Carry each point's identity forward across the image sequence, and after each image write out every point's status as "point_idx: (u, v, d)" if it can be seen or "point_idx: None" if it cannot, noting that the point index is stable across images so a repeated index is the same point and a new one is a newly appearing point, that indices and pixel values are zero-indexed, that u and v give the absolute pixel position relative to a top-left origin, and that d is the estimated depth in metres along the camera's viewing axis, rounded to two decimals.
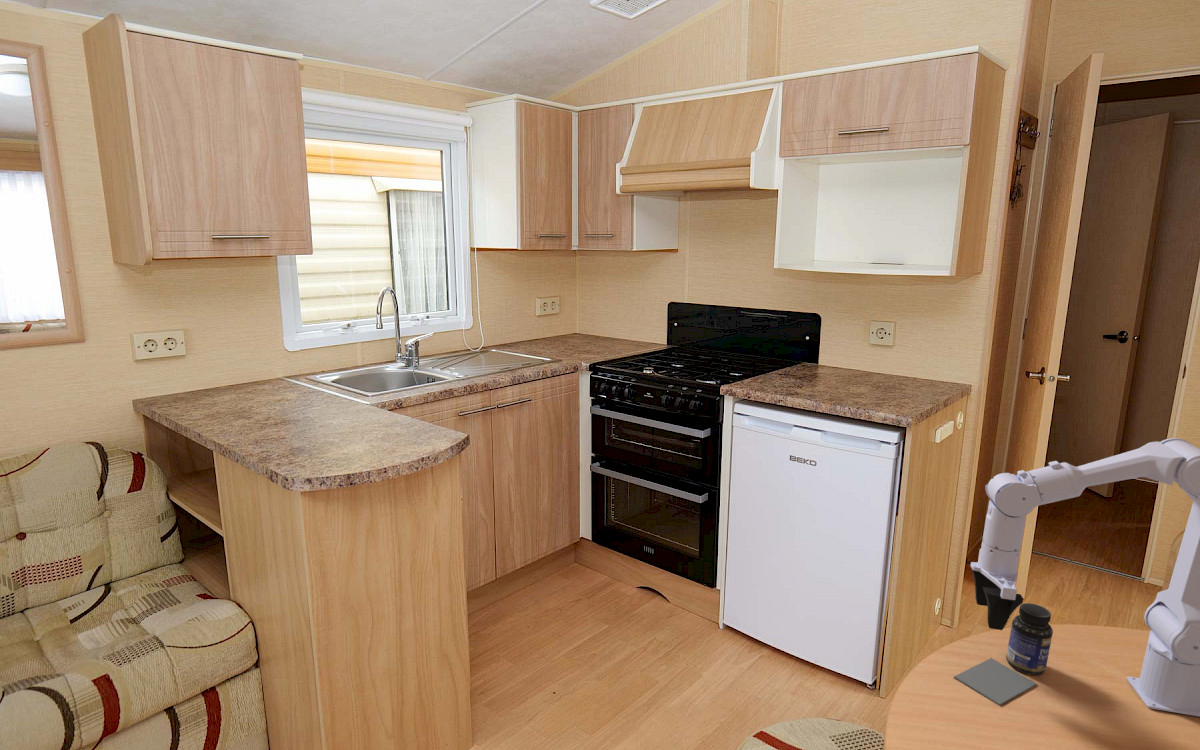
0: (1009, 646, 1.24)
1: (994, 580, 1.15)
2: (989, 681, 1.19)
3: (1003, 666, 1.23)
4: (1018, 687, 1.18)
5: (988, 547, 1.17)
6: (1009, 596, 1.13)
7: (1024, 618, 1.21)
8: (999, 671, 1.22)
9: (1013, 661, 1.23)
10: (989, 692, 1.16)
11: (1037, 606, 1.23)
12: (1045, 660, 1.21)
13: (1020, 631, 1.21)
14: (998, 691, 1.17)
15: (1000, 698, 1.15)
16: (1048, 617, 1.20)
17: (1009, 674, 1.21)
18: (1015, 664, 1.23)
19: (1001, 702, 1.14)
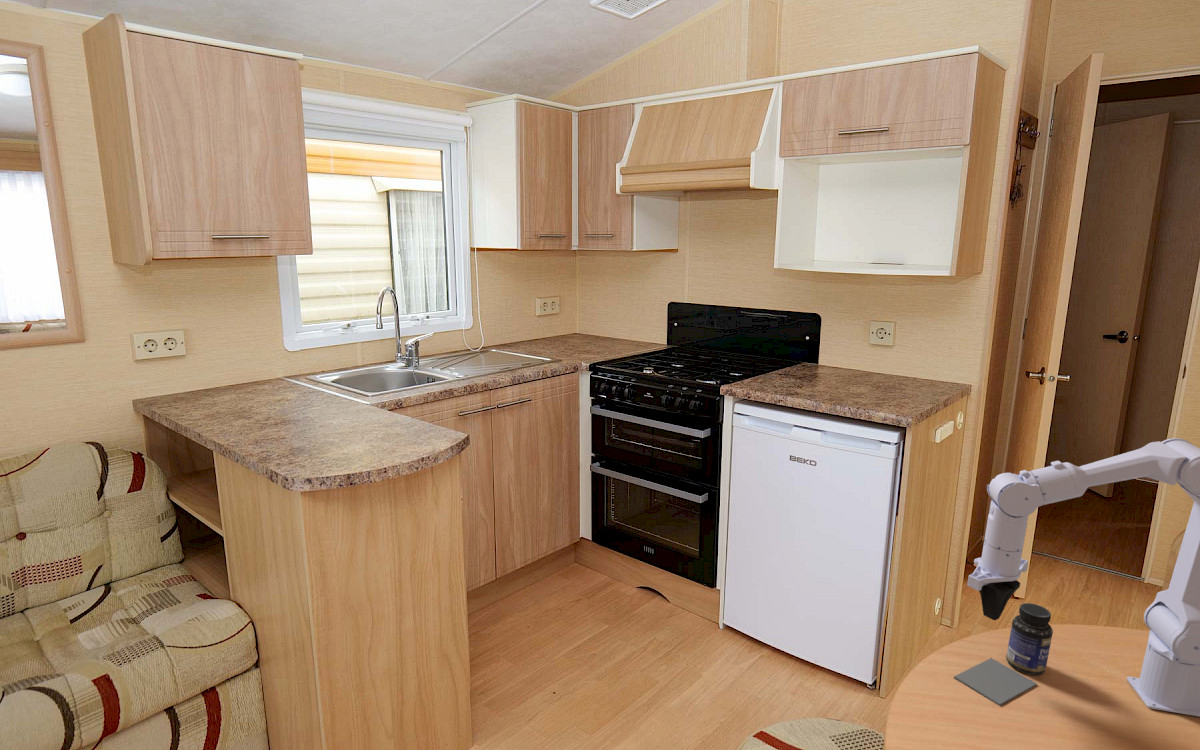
0: (1009, 646, 1.24)
1: (974, 571, 1.17)
2: (989, 681, 1.19)
3: (1003, 666, 1.23)
4: (1018, 687, 1.18)
5: (984, 541, 1.19)
6: (974, 586, 1.15)
7: (1024, 618, 1.21)
8: (999, 671, 1.22)
9: (1012, 661, 1.23)
10: (989, 692, 1.16)
11: (1037, 606, 1.23)
12: (1045, 660, 1.21)
13: (1020, 631, 1.21)
14: (998, 691, 1.17)
15: (1000, 698, 1.15)
16: (1048, 617, 1.20)
17: (1009, 674, 1.21)
18: (1015, 664, 1.23)
19: (1001, 702, 1.14)
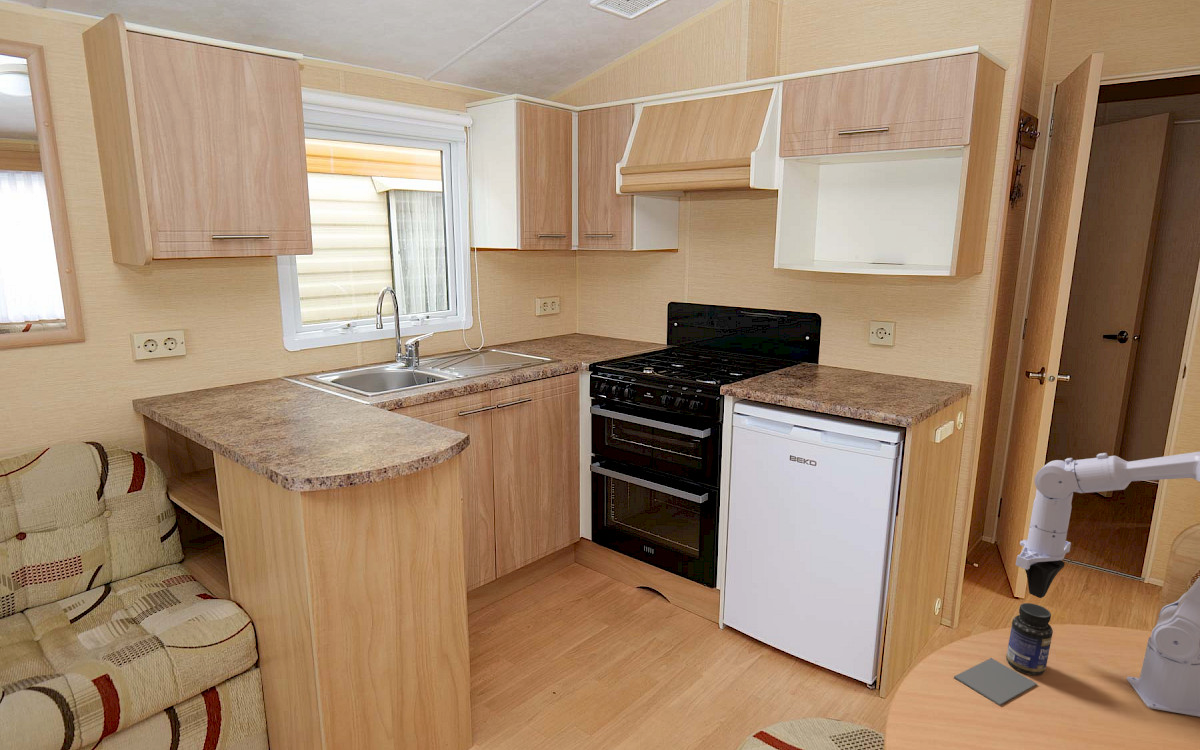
0: (1009, 646, 1.24)
1: (1021, 552, 1.25)
2: (989, 681, 1.19)
3: (1003, 666, 1.23)
4: (1018, 687, 1.18)
5: (1030, 524, 1.27)
6: (1022, 565, 1.23)
7: (1024, 618, 1.21)
8: (999, 671, 1.22)
9: (1012, 661, 1.23)
10: (989, 692, 1.16)
11: (1037, 606, 1.23)
12: (1045, 660, 1.21)
13: (1020, 631, 1.21)
14: (998, 691, 1.17)
15: (1000, 698, 1.15)
16: (1048, 617, 1.20)
17: (1009, 674, 1.21)
18: (1015, 664, 1.23)
19: (1001, 702, 1.14)
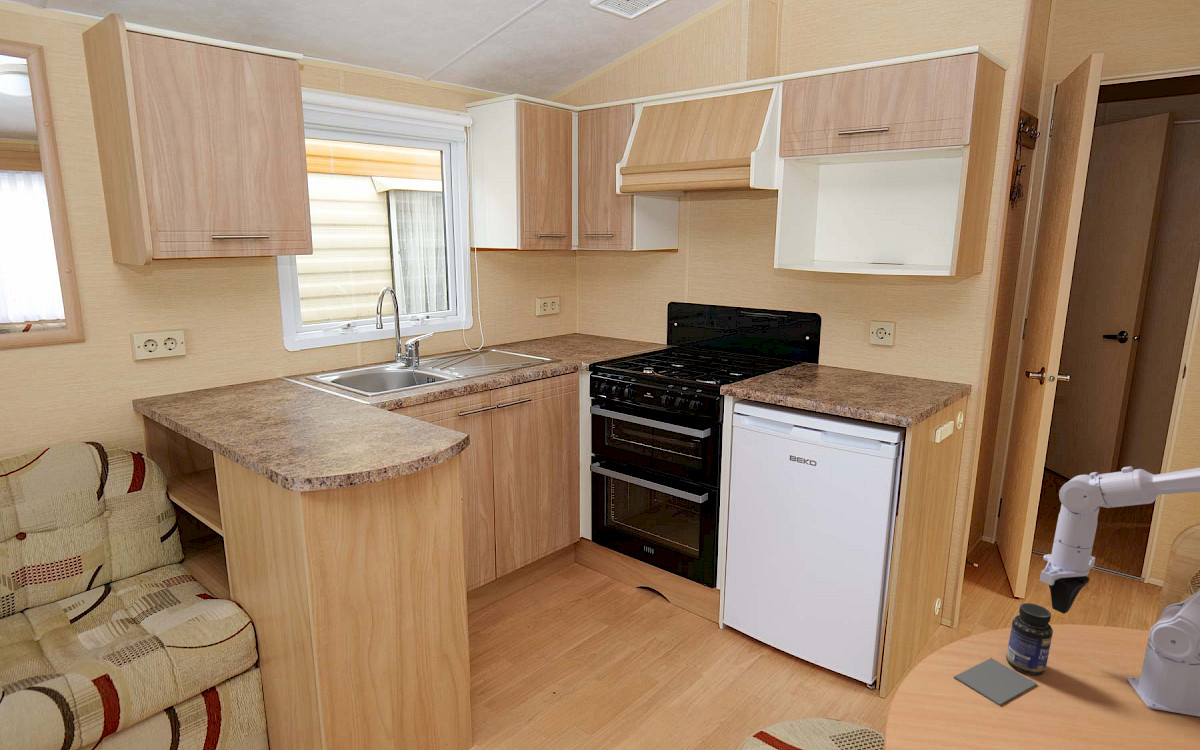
0: (1009, 646, 1.24)
1: (1045, 567, 1.24)
2: (989, 681, 1.19)
3: (1003, 666, 1.23)
4: (1018, 687, 1.18)
5: (1054, 539, 1.25)
6: (1047, 580, 1.21)
7: (1024, 618, 1.21)
8: (999, 671, 1.22)
9: (1013, 661, 1.23)
10: (989, 692, 1.16)
11: (1037, 606, 1.23)
12: (1045, 660, 1.21)
13: (1020, 631, 1.21)
14: (998, 691, 1.17)
15: (1000, 698, 1.15)
16: (1048, 617, 1.20)
17: (1009, 674, 1.21)
18: (1015, 664, 1.23)
19: (1001, 702, 1.14)
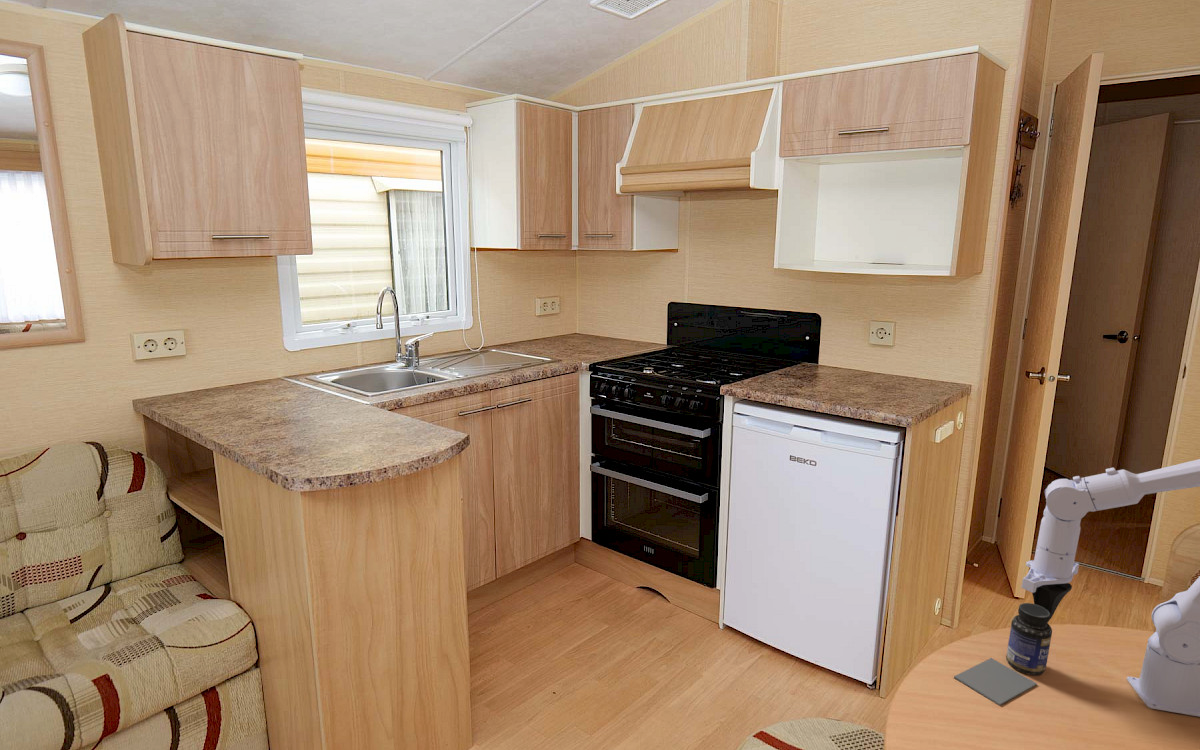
0: (1009, 646, 1.24)
1: None
2: (989, 681, 1.19)
3: (1003, 666, 1.23)
4: (1018, 687, 1.18)
5: (1037, 545, 1.22)
6: (1028, 588, 1.19)
7: (1023, 618, 1.21)
8: (999, 671, 1.22)
9: (1012, 661, 1.23)
10: (989, 692, 1.16)
11: (1036, 606, 1.23)
12: (1045, 660, 1.21)
13: (1019, 632, 1.21)
14: (998, 691, 1.17)
15: (1000, 698, 1.15)
16: (1047, 617, 1.20)
17: (1009, 674, 1.21)
18: (1015, 664, 1.23)
19: (1001, 702, 1.14)
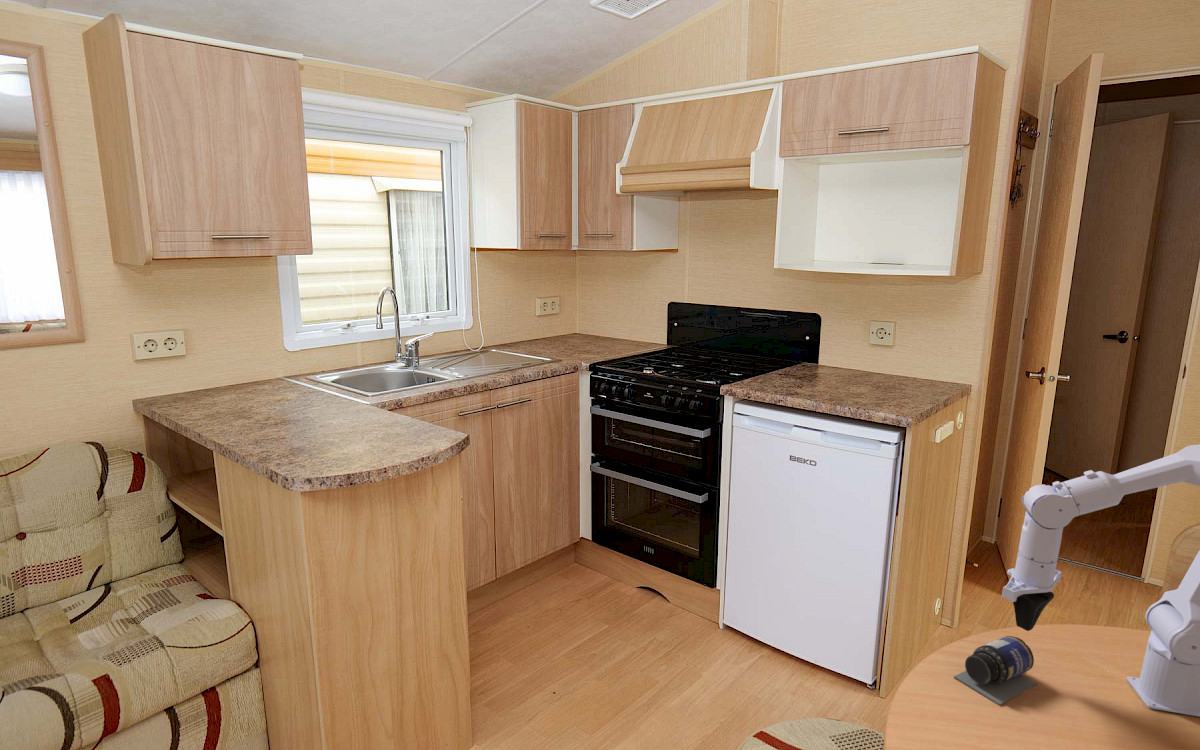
0: None
1: (1008, 582, 1.18)
2: None
3: None
4: (1018, 687, 1.18)
5: (1018, 553, 1.19)
6: (1009, 597, 1.16)
7: None
8: None
9: None
10: (989, 692, 1.16)
11: (975, 660, 1.17)
12: (1024, 666, 1.18)
13: None
14: (998, 691, 1.17)
15: (1000, 698, 1.15)
16: (990, 678, 1.15)
17: None
18: None
19: (1001, 702, 1.14)
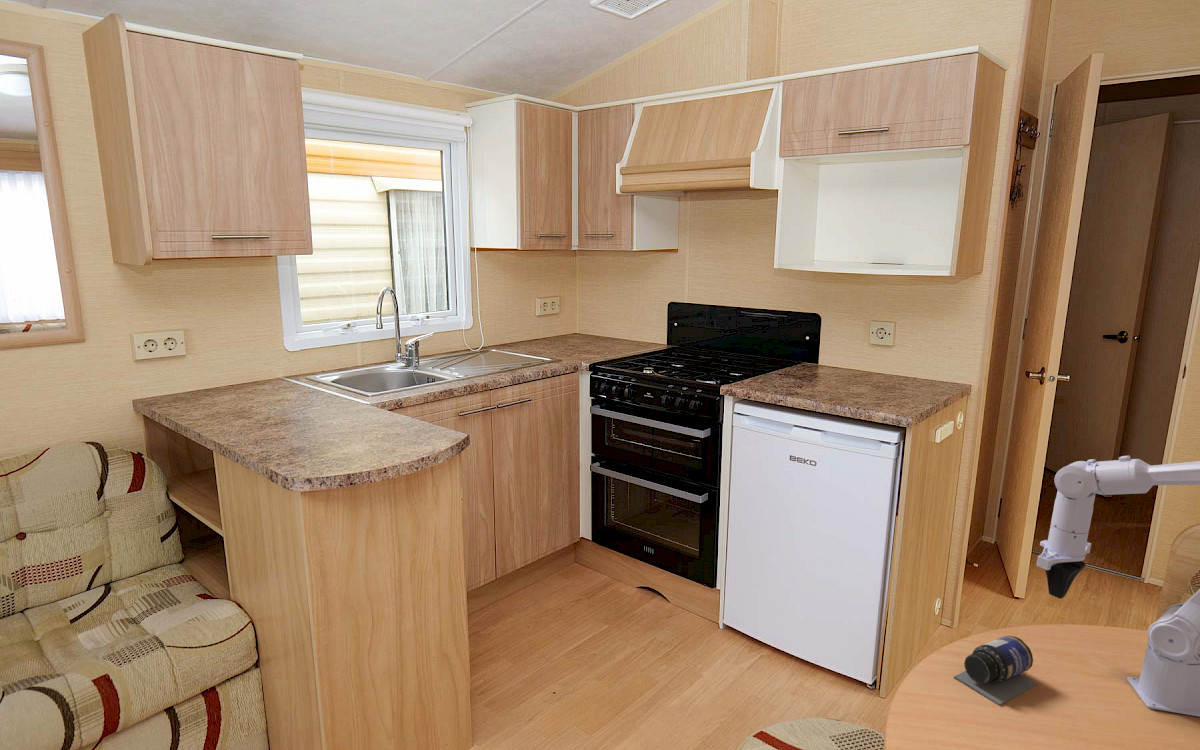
0: None
1: (1042, 552, 1.25)
2: None
3: None
4: (1018, 687, 1.18)
5: None
6: (1043, 565, 1.23)
7: None
8: None
9: None
10: (989, 692, 1.16)
11: (974, 659, 1.17)
12: (1023, 665, 1.18)
13: None
14: (998, 691, 1.17)
15: (1000, 698, 1.15)
16: (989, 677, 1.15)
17: None
18: None
19: (1001, 702, 1.14)
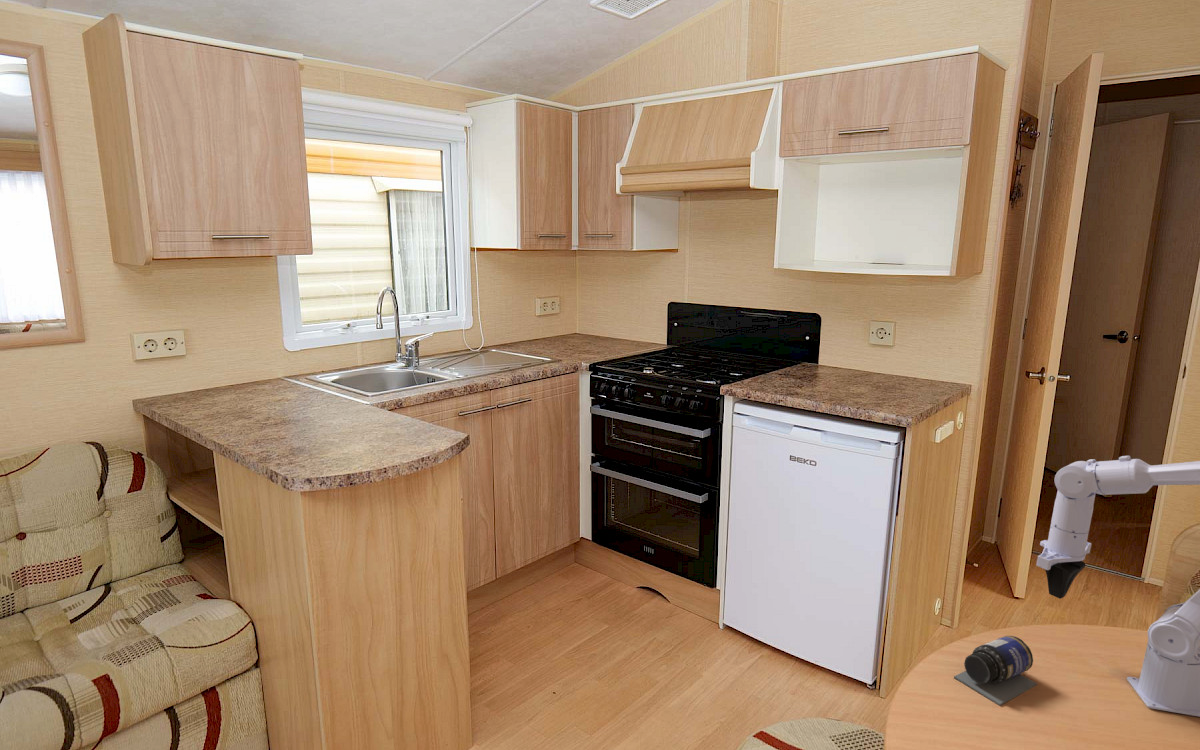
0: None
1: (1042, 552, 1.25)
2: None
3: None
4: (1018, 687, 1.18)
5: (1051, 524, 1.26)
6: (1043, 565, 1.23)
7: None
8: None
9: None
10: (989, 692, 1.16)
11: (974, 659, 1.17)
12: (1023, 665, 1.18)
13: None
14: (998, 691, 1.17)
15: (1000, 698, 1.15)
16: (989, 677, 1.15)
17: None
18: None
19: (1001, 702, 1.14)
